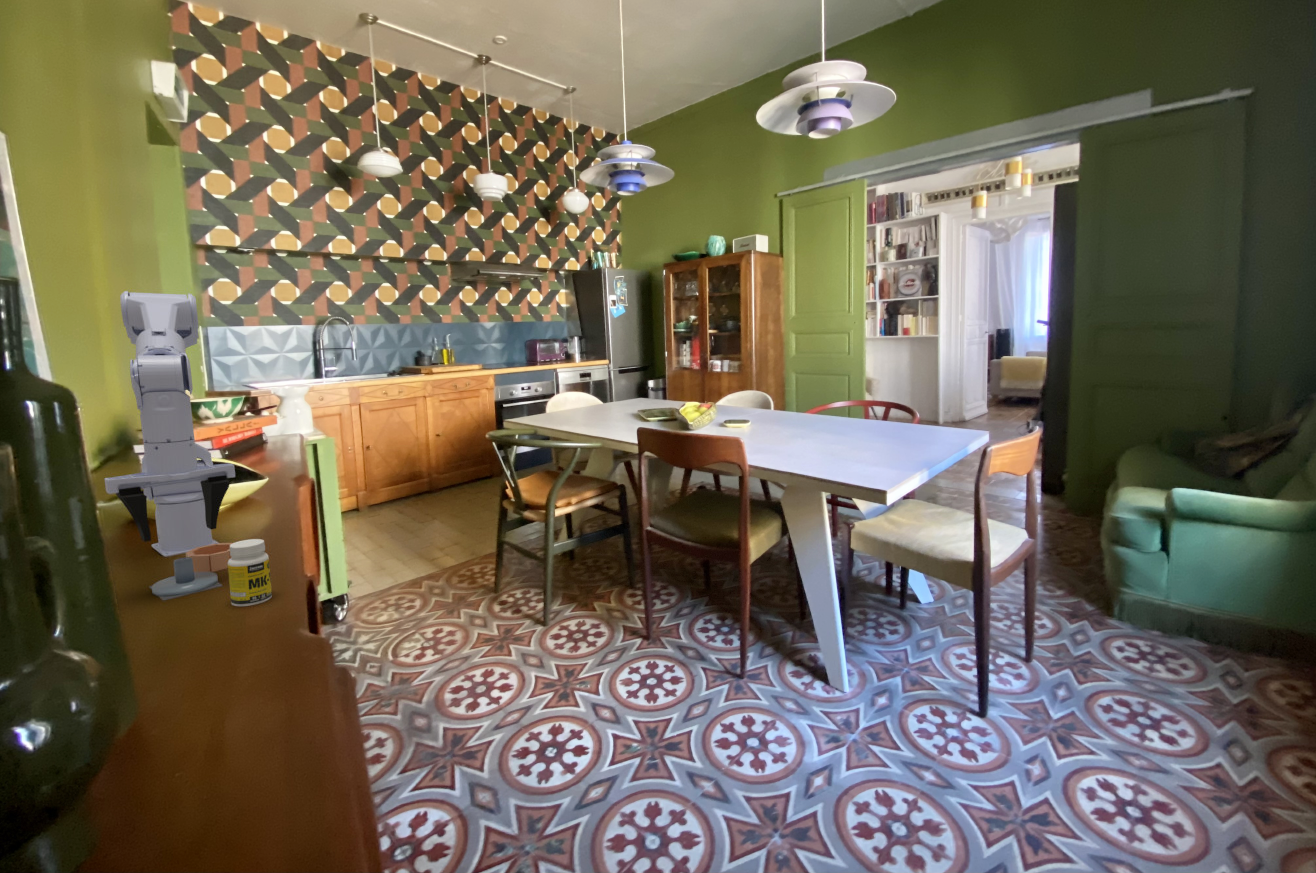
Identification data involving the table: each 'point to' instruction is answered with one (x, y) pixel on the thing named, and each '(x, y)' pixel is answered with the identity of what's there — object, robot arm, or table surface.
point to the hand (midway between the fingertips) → (179, 533)
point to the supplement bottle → (249, 573)
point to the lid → (184, 580)
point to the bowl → (210, 557)
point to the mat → (188, 593)
